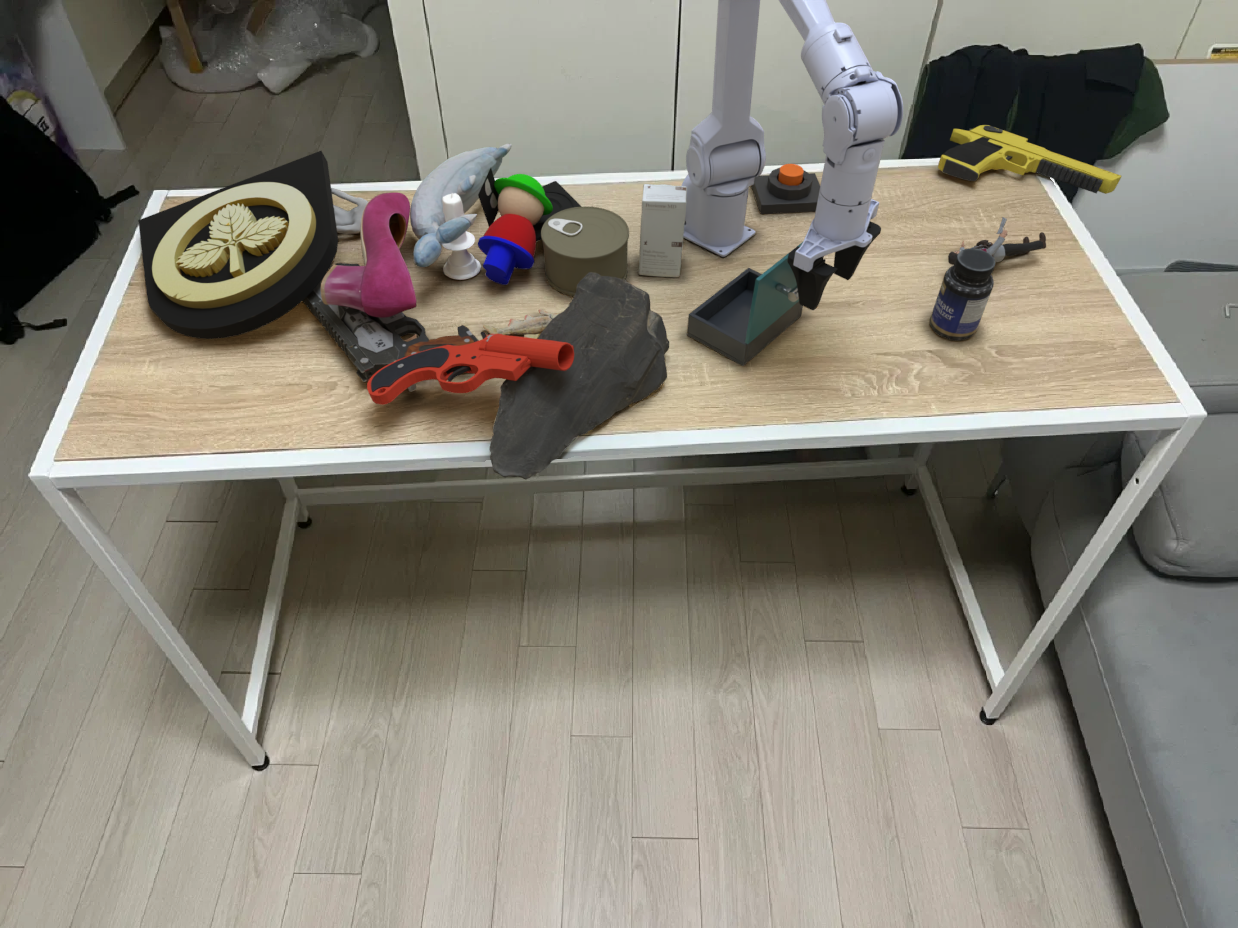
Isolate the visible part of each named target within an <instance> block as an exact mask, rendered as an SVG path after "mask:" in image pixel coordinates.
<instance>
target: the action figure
mask: <svg viewBox="0 0 1238 928" xmlns="http://www.w3.org/2000/svg"><path fill="white" fill-rule="evenodd" d="M1007 221H1008V218H1006V217H1004V216H1002V217H1001V221H1000V224H999V227H998V229H997V233H995V234H996V235H998V237H997V238H996V240H995V242H994V243H992V241H989V240H988V239H981V240H979V241H977V243H976V244H975V245H974V246H972V247H971V248H974V249H980V250H983V251H986V252H987V253H989V254H991V255H992V256H993V258H994V259H995V263H1000V262H1002V261H1003V260H1004V259H1005V257H1013V256H1018V255H1022V254H1023V255H1025V254H1029V253H1031V252H1033V251H1040V250H1045V249H1046V248H1047V237H1046V236H1047V235H1046V234H1045V232H1043V231H1041V232H1039V234H1038V237H1039V238H1038V239H1039V240H1034V241H1031V242H1030V238H1029V237H1028V236H1024V237H1023V239H1022V242H1017V243H1012V242H1011V243H1004V242H1005V241H1006V237H1007V236H1008V231H1007V230H1006V227H1005V225H1006V223H1007ZM965 245H966V244H965V240H962V242H961V247H959V250H954V251H950V252H949V253H948V255H947V260H948V262H947V263H948V264H950V265H952V266H953V265H955V260H956V258H957V255H958V253H959V252H960V251H962V250H964V249H965ZM971 248H969V249H971Z"/></svg>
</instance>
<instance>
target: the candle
mask: <svg viewBox="0 0 1238 928" xmlns="http://www.w3.org/2000/svg"><path fill="white" fill-rule="evenodd" d="M442 203H443V213H444V216H445V222H447V221H449V220H451V219H454V218H457V217H460V216H462V215H466V213H465V214H464V211H463V204H462V201H461V198H460V196H459V195H458V194H456V193H452V194H448V195H446V196H444V197H443V198H442ZM475 242H476V237H475V235H474V234H473V233H472V232H469V231H468V230H466V231H465V232H464V234H462V235H461V236H460V237H459V238H457V239H456V240H454V241H452V242H450V243H447V244H442V248H444V249H446V250H447V251H451V254H450V255H449V256H448V257H447V260H446V262H445V264H444V265H443V267H442V271H443V274H444V275H445V276H446V277H447V278H449V279H453V280H457V281H458V280H459V281H461V280H464V281H465V280H468V279H471V278H474V277H476V276H477V275H478V274H479V273H480V271H481V270H482V263H481V262H480V261H479V260H478V259H477V258H476V257H475V256H474V255H473V253H471V252H469V250H468V249H469V248H471V247H472V246H473V245H474V244H475Z"/></svg>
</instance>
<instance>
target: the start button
mask: <svg viewBox="0 0 1238 928" xmlns="http://www.w3.org/2000/svg"><path fill="white" fill-rule="evenodd" d="M779 168H780V171H779V178H778V180H779V182H780V183H782V184H784V185H789V186H796V185H799V184H801V183H802V179H803V173H804V171H805V169H804V168H803V167H802V166H801V165H799V164H795V163H786V164H783V165H781V166H780V167H779Z"/></svg>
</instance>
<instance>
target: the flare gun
mask: <svg viewBox="0 0 1238 928" xmlns="http://www.w3.org/2000/svg"><path fill="white" fill-rule="evenodd" d="M480 336H481V338H482V339H478V340H479V341H477V342H474V343H471V344H466V345H462V346H453V345H444V346H440V347H436V348H432V349H428V350H425V351H421V352H418V353H414V354H412V355H409V356H407V357H404V358H401V359H399V360H397V361H395V362H393V363H391V364H388V365H386V366H385V367H383V368H381V369H380V370H378V371H377V372H376V373H375V374H374V375H373V376H372V377H371V378H370V379H369V381H367V383H366V384H367V385H366V389H367V392H368V395H369V397H370V398H371V401H372V402H373V403H374V404H375V405H381V406H384V405H388V404H390V403H392V402H393V401H394V400H395V399H396V398H398V396H400V395H401V394H402V393H403V392H404V391H406V390H408V389H407V388H408V387H410V386H411V385H413V384H415V383H416V384H418V383H420V382H423V381H430V380H433V381H434V380H435V381H437V382H438V384H439V386H440V388H441V390H443V391H444V392H448V393H453V394H467V393H472V392H474V391H475V390H477V389H478V388H479V387H481V386H482V385H483V384H484V383H485V382H487V381H489V380H493V379H503V380H506V379H508V380H514V381H516V380H517V379H518V378H519V377H520V376H521V375H522V374H523V373H524V372H525V371H526V370H527V369H528V368H530V366H533V367H540V368H547V369H554V370H561V371H565V370H568V369H569V368H570V367H571V365H572V363H573V360H574V350H573V349H574V347H573V346H572V345H571V344H569V343H566V342H558V341H551V340H543V339H535V338H526V337H524V336H519V335H510V336H508V335H503V334H490V333H488V334H487V333H486V332H485V331H480ZM463 374H472V376H471V377H470V378H468V379H466V380H464V381H453V380H454V379H455V378H457V377H458V376H460V375H463Z"/></svg>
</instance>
